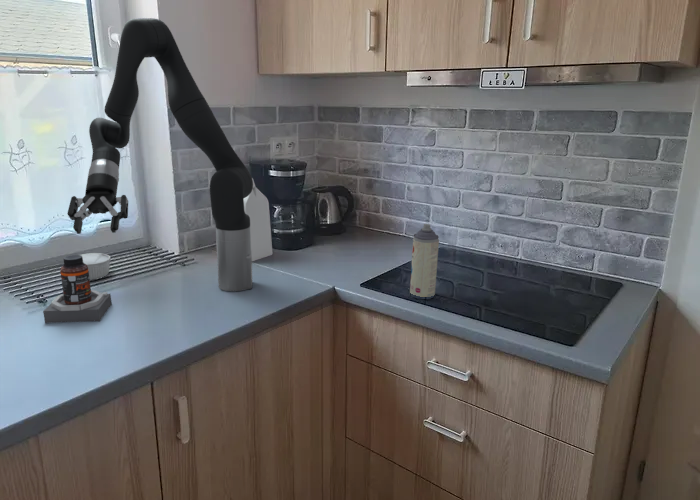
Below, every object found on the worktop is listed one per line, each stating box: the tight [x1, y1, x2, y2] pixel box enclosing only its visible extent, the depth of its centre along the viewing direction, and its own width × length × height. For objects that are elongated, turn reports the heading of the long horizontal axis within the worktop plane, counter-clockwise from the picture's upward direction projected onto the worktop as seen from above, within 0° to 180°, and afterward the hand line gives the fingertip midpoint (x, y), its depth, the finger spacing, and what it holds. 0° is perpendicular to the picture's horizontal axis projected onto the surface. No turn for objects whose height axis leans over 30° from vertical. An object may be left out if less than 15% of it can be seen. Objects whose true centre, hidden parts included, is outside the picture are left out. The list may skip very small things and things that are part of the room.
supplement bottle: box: [60, 254, 92, 305], centre depth 126 cm, size 6×6×11 cm
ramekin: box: [80, 252, 112, 281], centre depth 153 cm, size 11×11×5 cm
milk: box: [243, 177, 273, 262], centre depth 172 cm, size 12×12×26 cm
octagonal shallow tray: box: [42, 289, 113, 324], centre depth 128 cm, size 12×10×4 cm
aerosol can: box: [409, 223, 440, 297], centre depth 142 cm, size 7×7×20 cm
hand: (95, 231), depth 135 cm, fingers open, 8 cm apart
